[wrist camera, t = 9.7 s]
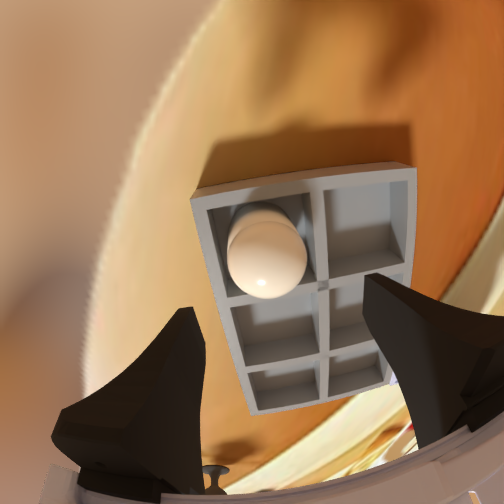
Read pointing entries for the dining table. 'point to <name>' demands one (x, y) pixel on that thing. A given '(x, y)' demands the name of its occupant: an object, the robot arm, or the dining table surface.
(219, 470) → the sundae
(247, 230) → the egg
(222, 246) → the grey compartment tray
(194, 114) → the dining table surface
